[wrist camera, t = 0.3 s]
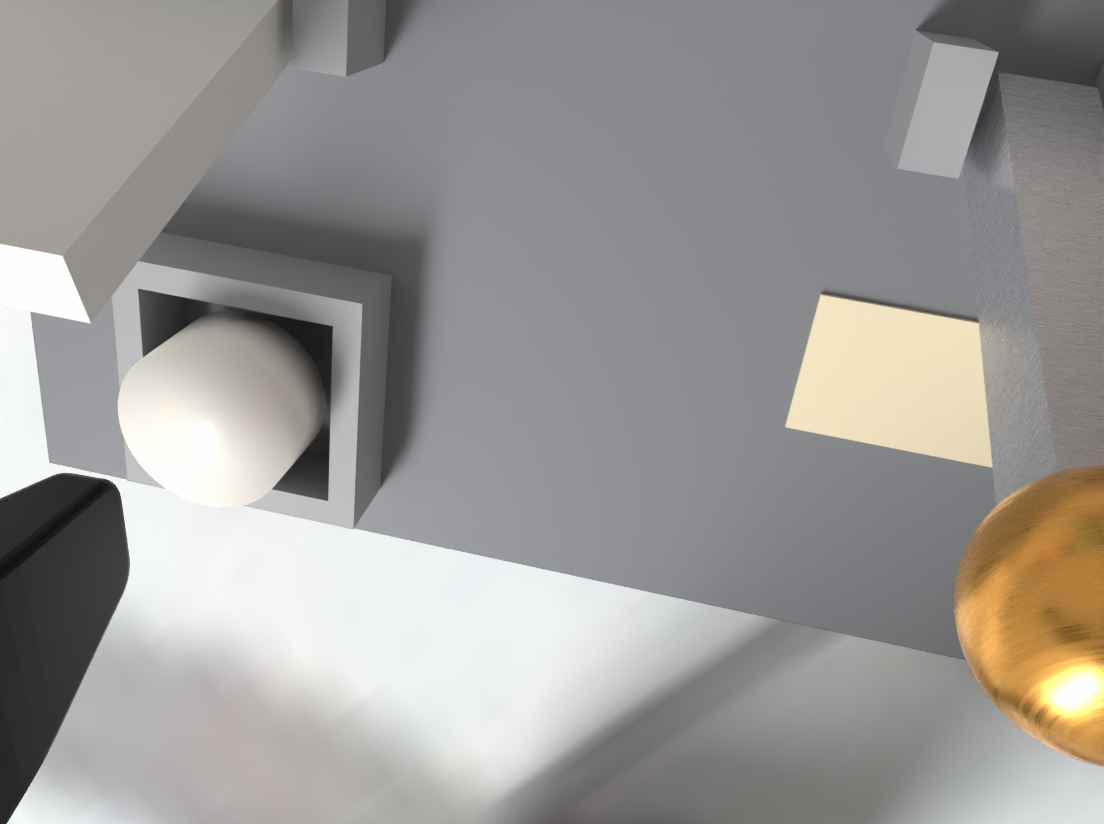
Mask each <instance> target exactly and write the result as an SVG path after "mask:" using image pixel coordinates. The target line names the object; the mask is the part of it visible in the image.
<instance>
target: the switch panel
mask: <svg viewBox="0 0 1104 824" xmlns="http://www.w3.org/2000/svg"><path fill="white" fill-rule="evenodd" d="M998 72H1001V73H1007V74H1014V75H1020V76H1027V77H1033V78H1039V79H1046V80H1052V81H1059V82H1065V83H1072V84H1078V85H1085V86H1091V87H1098V91H1099V95H1100V98H1101V102H1102V106H1103V109H1104V0H293V19H292V60H291V61H290V63H289V64H288V65H287V67H286V68H285V69H284V71H283V72H282V73H281V74H280V76H279V77H278V78H277V80H276V81H275V82H274V84H273V85H272V86H271V88H270V89H269V90H268V92H267V93H266V94H265V95H264V97H263V98H262V99H261V101H260V102H259V103H258V105H257V106H256V107H255V109H254V110H253V111H252V113H251V114H250V115H249V117H248V118H247V119H246V120H245V122H244V123H243V124H242V126H241V127H240V128H239V130H238V131H237V132H236V134H235V135H234V136H233V138H232V139H231V140H230V141H229V143H228V144H227V145H226V147H225V148H224V149H223V151H222V152H221V153H220V155H219V156H218V157H217V159H216V160H215V161H214V163H213V164H212V165H211V166H210V168H209V169H208V170H207V172H206V173H205V174H204V176H203V177H202V178H201V180H200V181H199V182H198V184H197V185H196V186H195V188H194V189H193V190H192V191H191V193H190V194H189V195H188V197H187V198H186V199H185V201H184V202H183V203H182V205H181V206H180V207H179V209H178V210H177V211H176V212H175V214H174V215H173V216H172V218H171V219H170V220H169V222H168V223H167V224H166V226H165V227H164V228H163V230H162V231H161V232H160V234H159V235H158V236H157V237H156V239H155V240H154V241H153V243H152V244H151V245H150V247H149V248H148V249H147V251H146V252H145V253H144V255H143V256H142V257H141V258H140V260H139V261H138V262H137V264H136V265H135V266H134V268H133V269H132V270H131V272H130V273H129V274H128V276H127V277H126V278H125V280H124V281H123V282H122V283H121V285H120V286H119V287H118V289H117V290H116V291H115V293H114V294H113V295H112V297H111V298H110V299H109V301H108V302H107V303H106V305H105V306H104V307H103V308H102V310H101V311H100V312H99V314H98V315H97V316H96V318H95V319H94V320H93V322H92V323H86V322H81V321H76V320H71V319H66V318H61V317H56V316H51V315H46V314H40V313H35V312H31V320H32V328H33V336H34V344H35V352H36V359H37V367H38V375H39V383H40V391H41V399H42V407H43V415H44V423H45V431H46V439H47V447H48V455H49V463H54V464H58V465H63V466H68V467H72V468H77V469H82V470H86V471H91V472H95V473H100V474H105V475H109V476H114V477H119V478H123V479H127V481H132V482H136V483H141V484H146V485H150V486H155V487H160V488H164V487H163V486H162V485H160V484H159V483H158V482H156V481H155V480H154V479H153V478H152V477H151V476H150V475H149V474H148V473H147V472H146V471H145V470H144V469H143V468H142V466H141V465H140V464H139V463H138V461H137V460H136V459H135V457H134V456H133V454H132V453H131V451H130V449H129V447H128V445H127V443H126V441H125V439H124V436H123V434H122V430H121V427H120V423H119V417H118V397H119V391H120V388H121V385H122V382H123V380H124V378H125V376H126V374H127V373H128V372H129V370H130V369H131V367H132V366H133V365H134V364H136V363H137V362H138V361H139V360H140V359H142V358H143V357H144V356H146V355H147V354H149V353H150V352H151V351H153V350H154V349H156V348H157V347H158V346H160V345H161V344H163V343H164V342H165V341H167V340H168V339H170V338H171V337H172V336H174V335H175V334H177V333H178V332H179V331H181V330H182V329H184V328H185V327H186V326H188V325H189V324H191V323H192V322H194V321H195V320H196V319H198V318H200V317H203V316H205V315H207V314H211V313H214V312H220V311H240V312H247V313H251V314H254V315H258V316H260V317H263V318H265V319H268V320H270V321H271V322H273V323H275V324H277V325H279V326H280V327H282V328H283V329H285V330H286V331H287V332H289V333H290V334H291V335H292V336H293V337H294V338H296V339H297V341H298V342H299V343H300V344H301V345H302V346H303V347H304V348H305V349H306V351H307V352H308V353H309V355H310V356H311V358H312V359H313V361H314V363H315V364H316V366H317V369H318V371H319V373H320V375H321V378H322V381H323V385H324V390H325V396H326V409H325V416H324V420H323V424H322V426H321V429H320V431H319V433H318V434H317V436H316V437H315V439H314V440H313V441H312V443H311V444H310V445H309V446H308V447H307V448H306V450H305V451H304V452H303V453H302V454H301V455H300V457H299V458H298V459H297V460H296V461H295V463H294V464H293V465H292V466H291V467H290V468H289V470H288V471H287V472H286V473H285V474H284V475H283V477H282V478H281V479H280V480H279V481H278V483H277V484H276V485H275V486H274V487H273V488H272V489H271V490H270V491H269V492H268V493H267V494H266V495H265V496H263V497H262V498H260V499H258V500H257V501H255V502H252V503H250V504H247V505H243V506H248V507H252V508H257V509H262V510H266V511H271V512H275V513H280V514H285V515H289V516H294V517H299V518H303V519H308V520H313V521H317V522H322V523H327V524H331V525H336V526H340V527H345V528H350V529H354V528H355V529H360V530H365V531H369V532H374V533H379V534H383V535H388V536H393V537H397V538H402V539H406V540H411V541H416V542H420V543H425V544H430V545H434V546H439V547H444V548H448V549H453V550H458V551H462V552H467V553H471V554H476V555H481V556H485V557H490V558H495V559H499V560H504V561H509V562H513V563H518V564H523V565H527V566H532V567H536V568H541V569H546V570H550V571H555V572H560V573H564V574H569V575H574V576H578V577H583V578H588V579H592V580H597V581H601V582H606V583H611V584H615V585H620V586H625V587H629V588H634V589H639V590H643V591H648V592H653V593H657V594H662V595H666V596H671V597H676V598H680V599H685V600H690V601H694V602H699V603H704V604H708V605H713V606H718V607H722V608H727V609H731V610H736V611H741V612H745V613H750V614H755V615H759V616H764V617H769V618H773V619H778V620H783V621H787V622H792V623H796V624H801V625H806V626H810V627H815V628H820V629H824V630H829V631H834V632H838V633H843V634H848V635H852V636H857V637H861V638H866V639H871V640H875V641H880V642H885V643H889V644H894V645H899V646H903V647H908V648H912V649H917V650H922V651H926V652H931V653H936V654H940V655H945V656H950V657H954V658H959V659H964V660H966V658H965V656H964V654H963V651H962V648H961V644H960V641H959V638H958V634H957V630H956V623H955V616H954V589H955V582H956V577H957V572H958V568H959V564H960V561H961V558H962V556H963V553H964V551H965V548H966V546H967V544H968V542H969V540H970V539H971V537H972V535H973V534H974V532H975V531H976V529H977V527H978V526H979V525H980V523H981V522H982V521H983V520H984V518H985V517H986V516H987V515H988V514H989V513H990V512H991V511H992V510H993V509H994V508H995V507H996V498H995V488H994V478H993V467H992V457H991V446H990V436H989V425H988V415H987V404H986V394H985V383H984V373H983V362H982V352H981V342H980V331H979V321H978V310H977V300H976V289H975V279H974V268H973V258H972V247H971V237H970V226H969V216H968V205H967V195H966V185H965V174H964V164H963V163H964V160H965V157H966V154H967V151H968V147H969V144H970V141H971V138H972V135H973V132H974V129H975V125H976V122H977V119H978V117H979V115H980V112H981V110H982V108H983V105H984V103H985V101H986V98H987V96H988V94H989V91H990V89H991V87H992V84H993V82H994V80H995V77H996V75H997V73H998ZM164 489H166V488H164Z"/></svg>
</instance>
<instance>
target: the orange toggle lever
mask: <svg viewBox="0 0 1104 824" xmlns="http://www.w3.org/2000/svg"><path fill="white" fill-rule="evenodd" d="M963 164H964V174H965V185H966V195H967V205H968V216H969V226H970V237H971V247H972V258H973V268H974V279H975V289H976V300H977V310H978V321H979V331H980V342H981V352H982V362H983V373H984V383H985V394H986V404H987V415H988V425H989V436H990V446H991V457H992V467H993V478H994V488H995V498H996V507H995V508H994V509H993V510H992V511H991V512H990V513H989V514H988V515H987V516H986V517H985V518H984V520H983V521H982V522H981V523H980V525H979V526H978V527H977V529H976V531H975V532H974V534H973V535H972V537H971V539H970V540H969V542H968V544H967V546H966V548H965V551H964V553H963V556H962V558H961V561H960V564H959V568H958V572H957V577H956V582H955V589H954V616H955V623H956V630H957V634H958V638H959V641H960V644H961V648H962V651H963V654H964V656H965V658H966V661H967V663H968V665H969V667H970V669H971V671H972V673H973V675H974V677H975V679H976V680H977V682H978V683H979V685H980V686H981V688H982V689H983V691H984V692H985V693H986V695H987V696H988V697H989V698H990V700H991V701H992V702H993V703H994V704H995V705H996V706H997V707H998V709H999V710H1000V711H1001V712H1002V713H1003V714H1004V715H1005V716H1006V717H1007V718H1009V719H1010V720H1011V721H1012V722H1013V723H1014V724H1016V725H1017V726H1018V727H1019V728H1020V729H1022V730H1023V731H1024V732H1025V733H1027V734H1028V735H1030V736H1031V737H1033V738H1035V739H1036V740H1038V741H1039V742H1041V743H1043V744H1044V745H1046V746H1048V747H1049V748H1051V749H1053V750H1055V751H1058V752H1060V753H1062V754H1065V755H1067V756H1070V757H1072V758H1074V759H1077V760H1080V761H1083V762H1086V763H1089V764H1093V765H1097V766H1102V767H1104V109H1103V106H1102V102H1101V98H1100V95H1099V91H1098V87H1091V86H1085V85H1078V84H1072V83H1065V82H1059V81H1052V80H1046V79H1039V78H1033V77H1027V76H1020V75H1014V74H1007V73H1001V72H998V73H997V75H996V77H995V80H994V82H993V84H992V87H991V89H990V91H989V94H988V96H987V98H986V101H985V103H984V105H983V108H982V110H981V112H980V115H979V117H978V119H977V122H976V125H975V129H974V132H973V135H972V138H971V141H970V144H969V147H968V151H967V154H966V157H965V160H964V163H963Z"/></svg>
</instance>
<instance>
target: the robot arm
mask: <svg viewBox="0 0 1104 824" xmlns="http://www.w3.org/2000/svg"><path fill="white" fill-rule="evenodd" d="M129 569H130V558H129V550H128V543H127V536H126V529H125V522H124V515H123V508H122V501H121V496H120V492H119V490H118V488H117V487H116V485H115V484H114V483H112V482H111V481H109V480H106V479H101V478H96V477H90V476H84V475H78V474H72V473H60V474H56V475H53V476H51V477H48V478H46V479H44V480H42V481H39V482H37V483H35V484H32V485H30V486H28V487H26V488H23V489H21V490H19V491H16V492H14V493H12V494H10V495H7V496H5V497H3V498H0V824H7V822H8V821H9V819H10V817H11V816H12V814H13V812H14V811H15V809H16V807H17V806H18V804H19V802H20V801H21V799H22V798H23V796H24V794H25V793H26V791H27V789H28V787H29V786H30V784H31V782H32V780H33V779H34V777H35V775H36V773H37V772H38V770H39V768H40V767H41V765H42V763H43V761H44V759H45V757H46V755H47V753H48V751H49V749H50V747H51V745H52V743H53V741H54V739H55V737H56V735H57V733H58V731H59V729H60V727H61V725H62V723H63V721H64V718H65V716H66V714H67V712H68V710H69V708H70V706H71V704H72V701H73V699H74V697H75V695H76V693H77V691H78V689H79V687H80V684H81V682H82V680H83V678H84V676H85V674H86V672H87V669H88V667H89V665H90V663H91V661H92V659H93V657H94V655H95V652H96V650H97V648H98V646H99V644H100V642H101V640H102V637H103V635H104V633H105V631H106V629H107V627H108V625H109V623H110V620H111V618H112V616H113V614H114V612H115V610H116V608H117V605H118V603H119V601H120V599H121V597H122V595H123V592H124V590H125V587H126V584H127V581H128V576H129Z"/></svg>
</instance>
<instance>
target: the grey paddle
mask: <svg viewBox="0 0 1104 824" xmlns="http://www.w3.org/2000/svg"><path fill="white" fill-rule="evenodd" d="M292 19H293V0H0V306H5V307H10V308H15V309H20V310H25V311H30V312H35V313H40V314H46V315H51V316H56V317H61V318H66V319H71V320H76V321H81V322H86V323H92V322H93V320H94V319H95V318H96V316H97V315H98V314H99V312H100V311H101V310H102V308H103V307H104V306H105V305H106V303H107V302H108V301H109V299H110V298H111V297H112V295H113V294H114V293H115V291H116V290H117V289H118V287H119V286H120V285H121V283H122V282H123V281H124V280H125V278H126V277H127V276H128V274H129V273H130V272H131V270H132V269H133V268H134V266H135V265H136V264H137V262H138V261H139V260H140V258H141V257H142V256H143V255H144V253H145V252H146V251H147V249H148V248H149V247H150V245H151V244H152V243H153V241H154V240H155V239H156V237H157V236H158V235H159V234H160V232H161V231H162V230H163V228H164V227H165V226H166V224H167V223H168V222H169V220H170V219H171V218H172V216H173V215H174V214H175V212H176V211H177V210H178V209H179V207H180V206H181V205H182V203H183V202H184V201H185V199H186V198H187V197H188V195H189V194H190V193H191V191H192V190H193V189H194V188H195V186H196V185H197V184H198V182H199V181H200V180H201V178H202V177H203V176H204V174H205V173H206V172H207V170H208V169H209V168H210V166H211V165H212V164H213V163H214V161H215V160H216V159H217V157H218V156H219V155H220V153H221V152H222V151H223V149H224V148H225V147H226V145H227V144H228V143H229V141H230V140H231V139H232V138H233V136H234V135H235V134H236V132H237V131H238V130H239V128H240V127H241V126H242V124H243V123H244V122H245V120H246V119H247V118H248V117H249V115H250V114H251V113H252V111H253V110H254V109H255V107H256V106H257V105H258V103H259V102H260V101H261V99H262V98H263V97H264V95H265V94H266V93H267V92H268V90H269V89H270V88H271V86H272V85H273V84H274V82H275V81H276V80H277V78H278V77H279V76H280V74H281V73H282V72H283V71H284V69H285V68H286V67H287V65H288V64H289V63H290V61H291V60H292Z"/></svg>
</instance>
